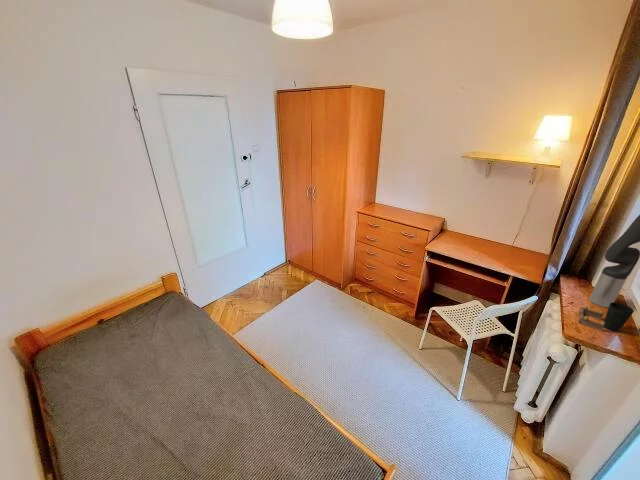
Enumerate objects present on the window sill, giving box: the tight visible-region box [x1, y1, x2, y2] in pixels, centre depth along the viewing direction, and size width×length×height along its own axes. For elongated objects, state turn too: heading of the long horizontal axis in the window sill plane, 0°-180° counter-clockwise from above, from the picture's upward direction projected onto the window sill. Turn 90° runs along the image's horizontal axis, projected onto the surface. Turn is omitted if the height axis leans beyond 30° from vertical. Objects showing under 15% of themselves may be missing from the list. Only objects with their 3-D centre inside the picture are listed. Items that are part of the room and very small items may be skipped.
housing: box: [577, 305, 605, 332], centre depth 133 cm, size 13×8×4 cm, turn 138°
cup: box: [603, 301, 635, 333], centre depth 127 cm, size 8×8×12 cm
